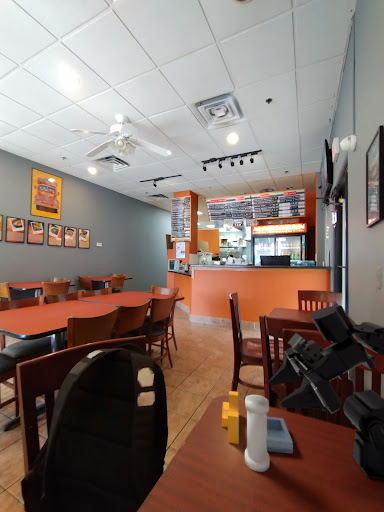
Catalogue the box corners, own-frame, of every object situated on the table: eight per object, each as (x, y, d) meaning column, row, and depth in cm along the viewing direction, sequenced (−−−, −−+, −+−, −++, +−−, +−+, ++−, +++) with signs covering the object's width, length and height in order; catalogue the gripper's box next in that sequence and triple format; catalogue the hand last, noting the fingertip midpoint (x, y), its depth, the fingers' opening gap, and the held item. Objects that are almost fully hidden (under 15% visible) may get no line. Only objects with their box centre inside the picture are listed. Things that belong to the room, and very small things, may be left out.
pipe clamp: (223, 413, 70) (223, 390, 71) (238, 414, 69) (238, 391, 70) (220, 442, 58) (220, 414, 59) (238, 444, 58) (238, 416, 58)
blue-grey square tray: (283, 427, 64) (282, 418, 64) (292, 453, 55) (292, 442, 55) (248, 424, 65) (248, 415, 65) (252, 449, 56) (252, 438, 56)
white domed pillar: (267, 453, 55) (266, 395, 55) (271, 473, 49) (271, 408, 50) (243, 451, 55) (243, 393, 56) (245, 470, 50) (246, 406, 51)
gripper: (301, 318, 63) (249, 347, 63) (339, 339, 44) (266, 380, 45) (324, 355, 62) (271, 385, 63) (373, 393, 43) (297, 434, 44)
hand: (275, 393), depth 53 cm, fingers open, 9 cm apart
